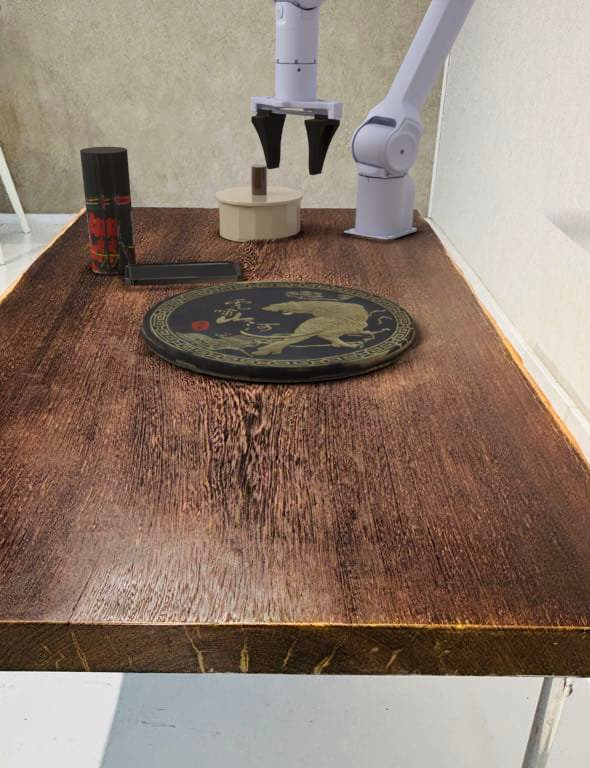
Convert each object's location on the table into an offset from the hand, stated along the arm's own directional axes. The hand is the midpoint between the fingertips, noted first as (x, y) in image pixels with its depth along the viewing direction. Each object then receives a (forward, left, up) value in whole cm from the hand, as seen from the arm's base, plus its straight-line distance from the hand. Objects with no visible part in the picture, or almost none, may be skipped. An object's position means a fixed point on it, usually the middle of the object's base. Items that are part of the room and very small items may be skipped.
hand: (293, 171), depth 123 cm
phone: (+24, 0, -10) cm, 26 cm away
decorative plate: (+33, +23, -11) cm, 42 cm away
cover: (-3, -9, -5) cm, 11 cm away
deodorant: (+26, -11, -11) cm, 30 cm away
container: (-3, -9, -10) cm, 14 cm away
